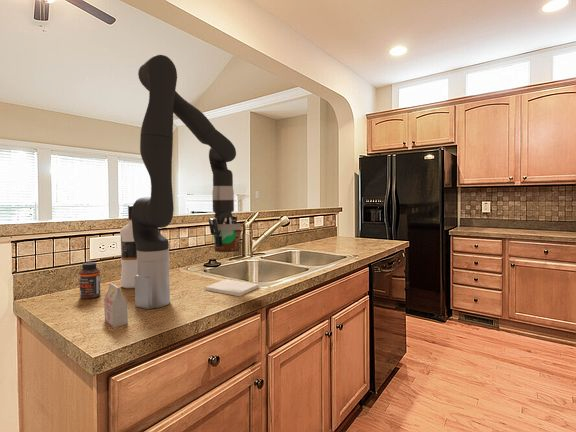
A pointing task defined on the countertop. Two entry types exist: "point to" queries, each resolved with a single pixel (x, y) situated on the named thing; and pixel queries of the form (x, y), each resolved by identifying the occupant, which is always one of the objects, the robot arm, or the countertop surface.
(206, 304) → the countertop surface
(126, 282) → the vodka
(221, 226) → the food container
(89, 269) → the supplement bottle
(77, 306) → the countertop surface
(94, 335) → the countertop surface
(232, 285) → the cutting board
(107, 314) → the white milk carton
